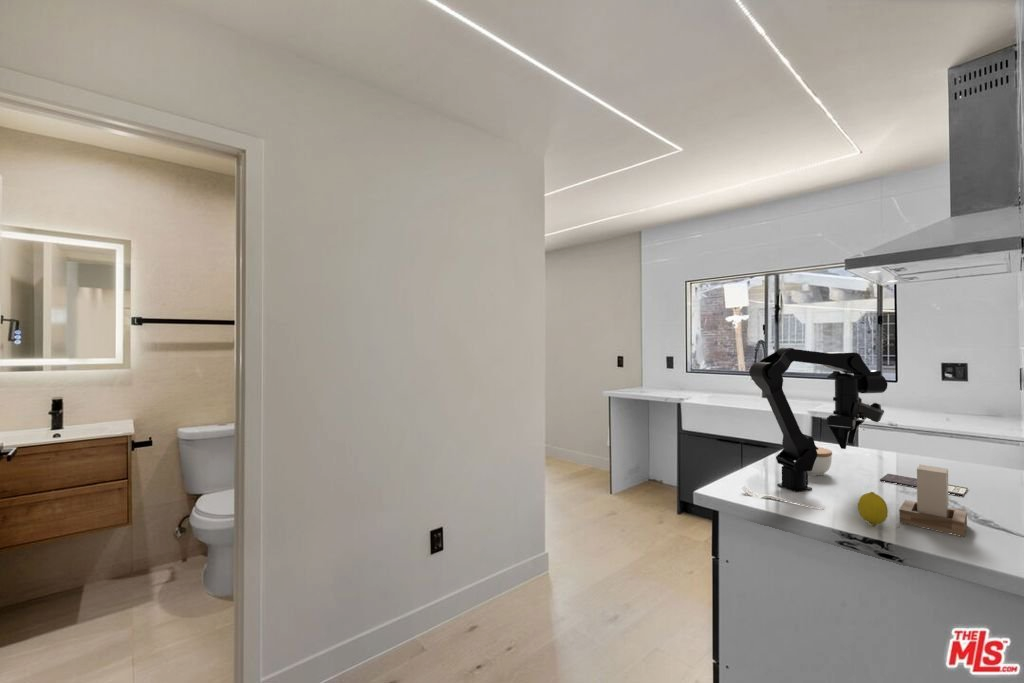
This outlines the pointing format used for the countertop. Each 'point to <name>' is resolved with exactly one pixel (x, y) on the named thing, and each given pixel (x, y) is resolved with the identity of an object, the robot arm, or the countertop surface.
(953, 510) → the tray
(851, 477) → the countertop surface
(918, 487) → the clay bar
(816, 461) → the lidded jar
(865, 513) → the lemon
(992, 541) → the countertop surface
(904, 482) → the chocolate bar
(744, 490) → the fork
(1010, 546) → the countertop surface
